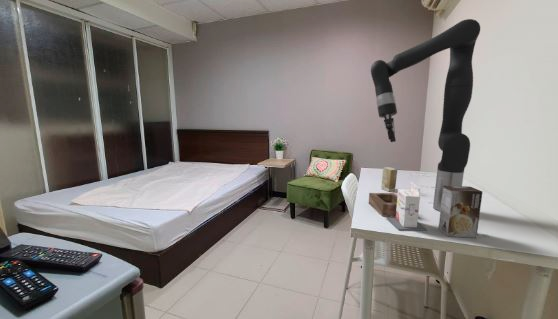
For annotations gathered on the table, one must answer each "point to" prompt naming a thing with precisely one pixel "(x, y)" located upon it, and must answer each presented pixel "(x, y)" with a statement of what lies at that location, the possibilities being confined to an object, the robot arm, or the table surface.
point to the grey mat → (400, 227)
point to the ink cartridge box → (408, 206)
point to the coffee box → (460, 211)
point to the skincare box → (389, 179)
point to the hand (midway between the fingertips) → (392, 140)
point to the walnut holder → (384, 203)
